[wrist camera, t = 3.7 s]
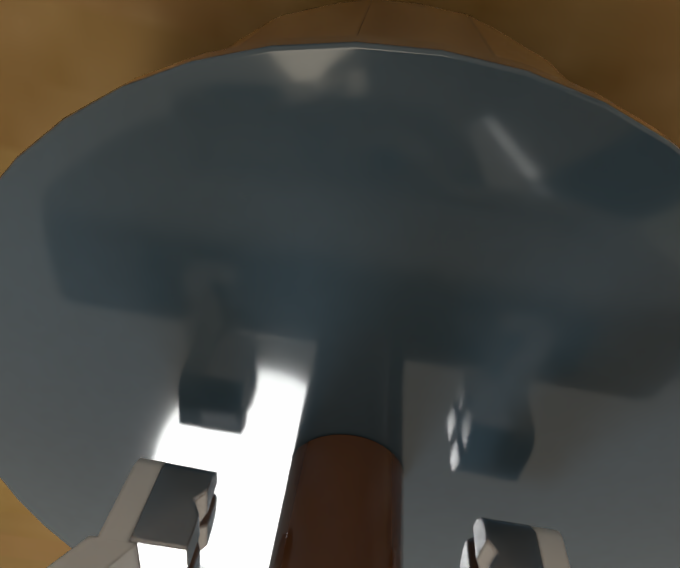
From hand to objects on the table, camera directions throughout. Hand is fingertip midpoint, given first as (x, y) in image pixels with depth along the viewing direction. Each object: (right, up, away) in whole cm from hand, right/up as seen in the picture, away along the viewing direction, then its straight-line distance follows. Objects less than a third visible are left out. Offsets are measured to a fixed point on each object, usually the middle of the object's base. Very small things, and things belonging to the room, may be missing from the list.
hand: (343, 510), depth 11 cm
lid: (0, +1, +1) cm, 2 cm away
